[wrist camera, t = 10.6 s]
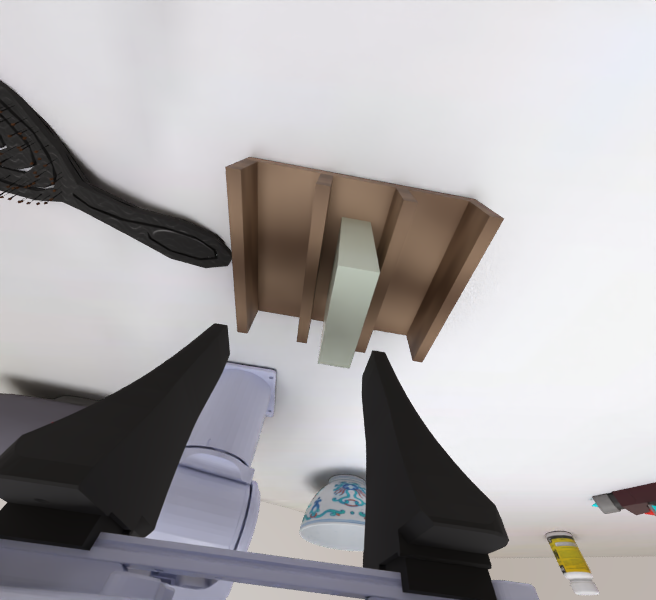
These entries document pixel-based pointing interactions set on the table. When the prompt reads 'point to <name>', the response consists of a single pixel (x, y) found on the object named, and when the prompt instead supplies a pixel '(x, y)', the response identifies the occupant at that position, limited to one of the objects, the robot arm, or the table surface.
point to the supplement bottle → (572, 563)
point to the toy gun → (629, 500)
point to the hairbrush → (89, 188)
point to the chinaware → (337, 515)
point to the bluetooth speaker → (33, 414)
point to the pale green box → (348, 292)
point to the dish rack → (321, 240)
